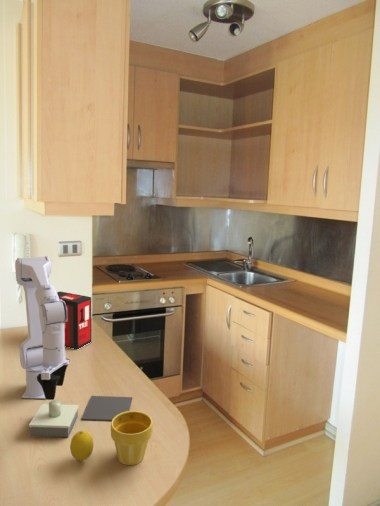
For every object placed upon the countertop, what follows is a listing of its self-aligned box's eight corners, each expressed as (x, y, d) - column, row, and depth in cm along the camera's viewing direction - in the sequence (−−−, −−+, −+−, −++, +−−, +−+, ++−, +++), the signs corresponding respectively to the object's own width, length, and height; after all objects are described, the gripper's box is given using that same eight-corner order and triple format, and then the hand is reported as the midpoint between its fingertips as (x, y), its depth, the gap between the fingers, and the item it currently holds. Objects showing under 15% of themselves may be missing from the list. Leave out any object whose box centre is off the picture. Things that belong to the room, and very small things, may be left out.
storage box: (43, 415, 123) (43, 406, 123) (77, 416, 123) (77, 407, 123) (30, 436, 114) (30, 426, 113) (68, 437, 114) (67, 427, 113)
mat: (91, 396, 135) (91, 395, 135) (132, 398, 135) (132, 397, 135) (81, 419, 122) (81, 418, 122) (126, 421, 122) (126, 420, 122)
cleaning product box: (46, 342, 177) (45, 296, 173) (60, 335, 185) (59, 291, 181) (77, 350, 170) (77, 302, 167) (91, 342, 178) (91, 297, 175)
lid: (42, 408, 123) (42, 393, 122) (78, 409, 123) (78, 394, 123) (29, 429, 113) (28, 413, 112) (68, 430, 113) (68, 414, 112)
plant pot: (153, 469, 103) (154, 432, 101) (110, 472, 101) (110, 435, 99) (150, 442, 113) (151, 409, 111) (111, 445, 111) (111, 411, 109)
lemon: (95, 453, 108) (95, 424, 106) (90, 468, 102) (90, 438, 101) (73, 453, 107) (73, 424, 106) (67, 467, 102) (67, 437, 101)
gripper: (60, 357, 107) (61, 406, 110) (75, 336, 121) (76, 380, 124) (32, 356, 107) (34, 405, 109) (51, 335, 121) (51, 379, 124)
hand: (54, 391), depth 117 cm, fingers open, 7 cm apart
